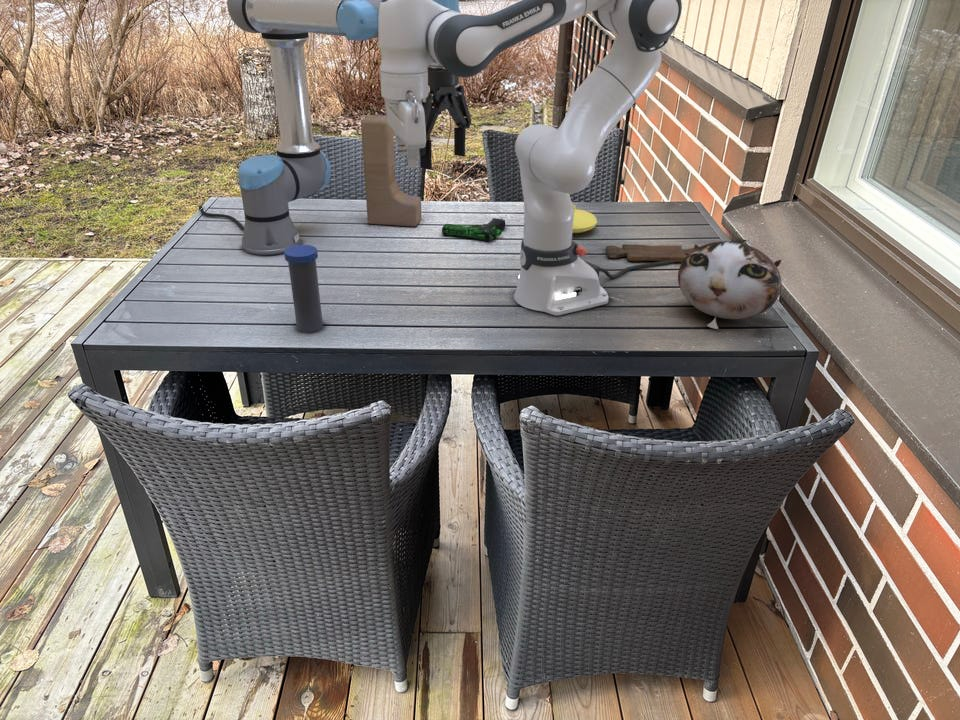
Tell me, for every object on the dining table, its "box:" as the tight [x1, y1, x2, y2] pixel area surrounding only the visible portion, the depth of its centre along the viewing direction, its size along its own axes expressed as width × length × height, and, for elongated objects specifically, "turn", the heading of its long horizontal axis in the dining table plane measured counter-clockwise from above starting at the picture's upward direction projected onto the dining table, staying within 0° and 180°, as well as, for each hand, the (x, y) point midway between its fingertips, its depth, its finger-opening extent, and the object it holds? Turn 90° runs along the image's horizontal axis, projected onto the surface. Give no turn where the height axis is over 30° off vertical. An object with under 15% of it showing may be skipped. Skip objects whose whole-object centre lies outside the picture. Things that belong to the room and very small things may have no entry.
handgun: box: [441, 217, 506, 242], centre depth 207 cm, size 16×3×15 cm
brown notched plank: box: [605, 243, 694, 263], centre depth 194 cm, size 26×2×10 cm
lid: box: [283, 244, 319, 264], centre depth 148 cm, size 7×7×2 cm
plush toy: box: [677, 240, 783, 330], centre depth 159 cm, size 22×18×20 cm
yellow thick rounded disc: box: [572, 204, 598, 234], centre depth 209 cm, size 16×16×7 cm
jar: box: [287, 259, 324, 334], centre depth 152 cm, size 6×6×17 cm
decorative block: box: [360, 114, 423, 228], centre depth 206 cm, size 8×15×30 cm, turn 82°
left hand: (443, 161), depth 169 cm, fingers open, 13 cm apart
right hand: (407, 160), depth 141 cm, fingers open, 8 cm apart
